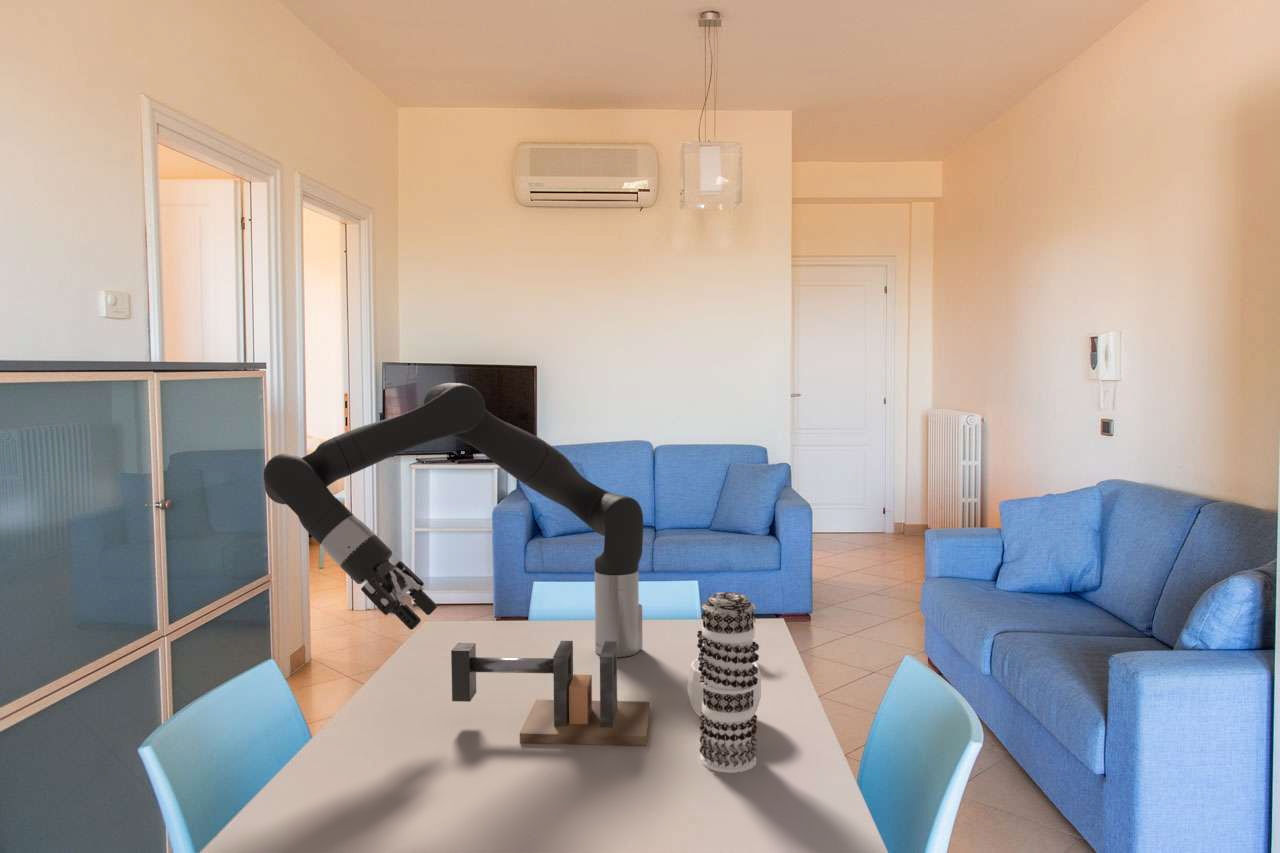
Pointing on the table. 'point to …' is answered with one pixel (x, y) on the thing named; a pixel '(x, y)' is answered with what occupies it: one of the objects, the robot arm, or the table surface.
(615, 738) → the rig
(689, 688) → the cup
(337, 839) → the table surface
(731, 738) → the decorative candle
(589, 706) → the spacer
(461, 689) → the shaft
